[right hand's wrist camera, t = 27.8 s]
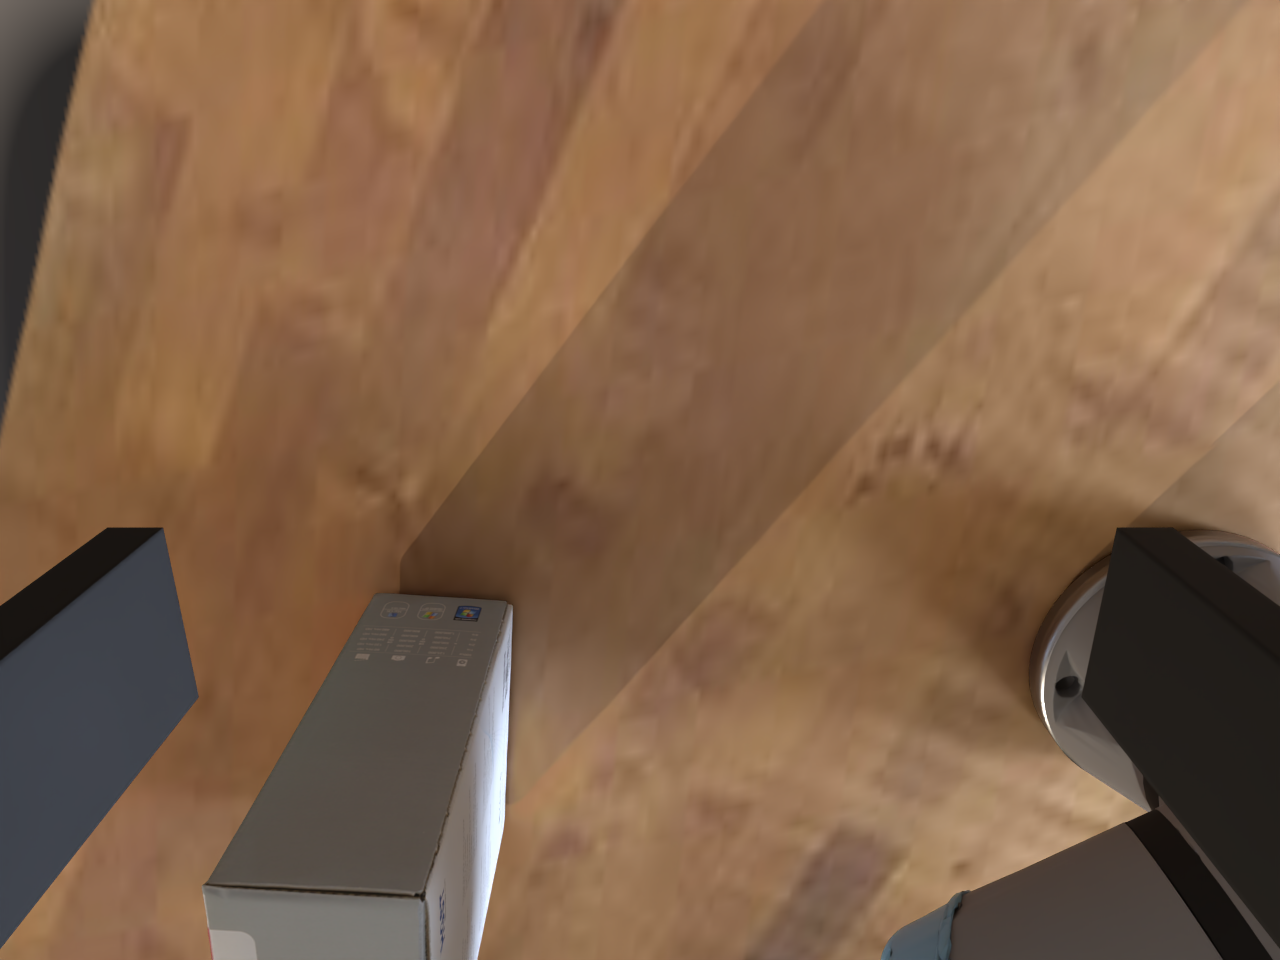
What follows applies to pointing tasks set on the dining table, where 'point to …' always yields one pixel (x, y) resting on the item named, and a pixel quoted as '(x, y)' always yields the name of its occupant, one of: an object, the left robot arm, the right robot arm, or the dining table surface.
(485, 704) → the hard drive box
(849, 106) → the dining table surface
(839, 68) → the dining table surface
